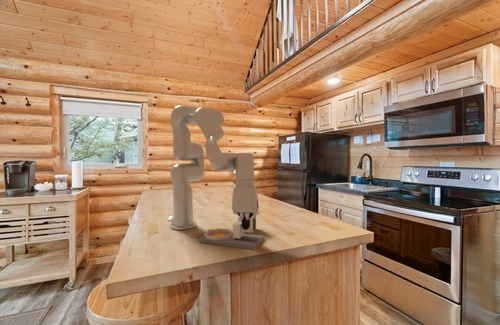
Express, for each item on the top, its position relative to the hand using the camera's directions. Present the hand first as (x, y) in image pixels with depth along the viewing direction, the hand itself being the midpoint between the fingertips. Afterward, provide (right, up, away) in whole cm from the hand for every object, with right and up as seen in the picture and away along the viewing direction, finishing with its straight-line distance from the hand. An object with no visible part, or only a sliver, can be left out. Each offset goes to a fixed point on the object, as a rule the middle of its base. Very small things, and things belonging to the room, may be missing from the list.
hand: (245, 228), depth 96 cm
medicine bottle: (0, -6, +16) cm, 17 cm away
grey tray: (-6, -6, +2) cm, 8 cm away
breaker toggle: (-3, -4, +1) cm, 5 cm away
